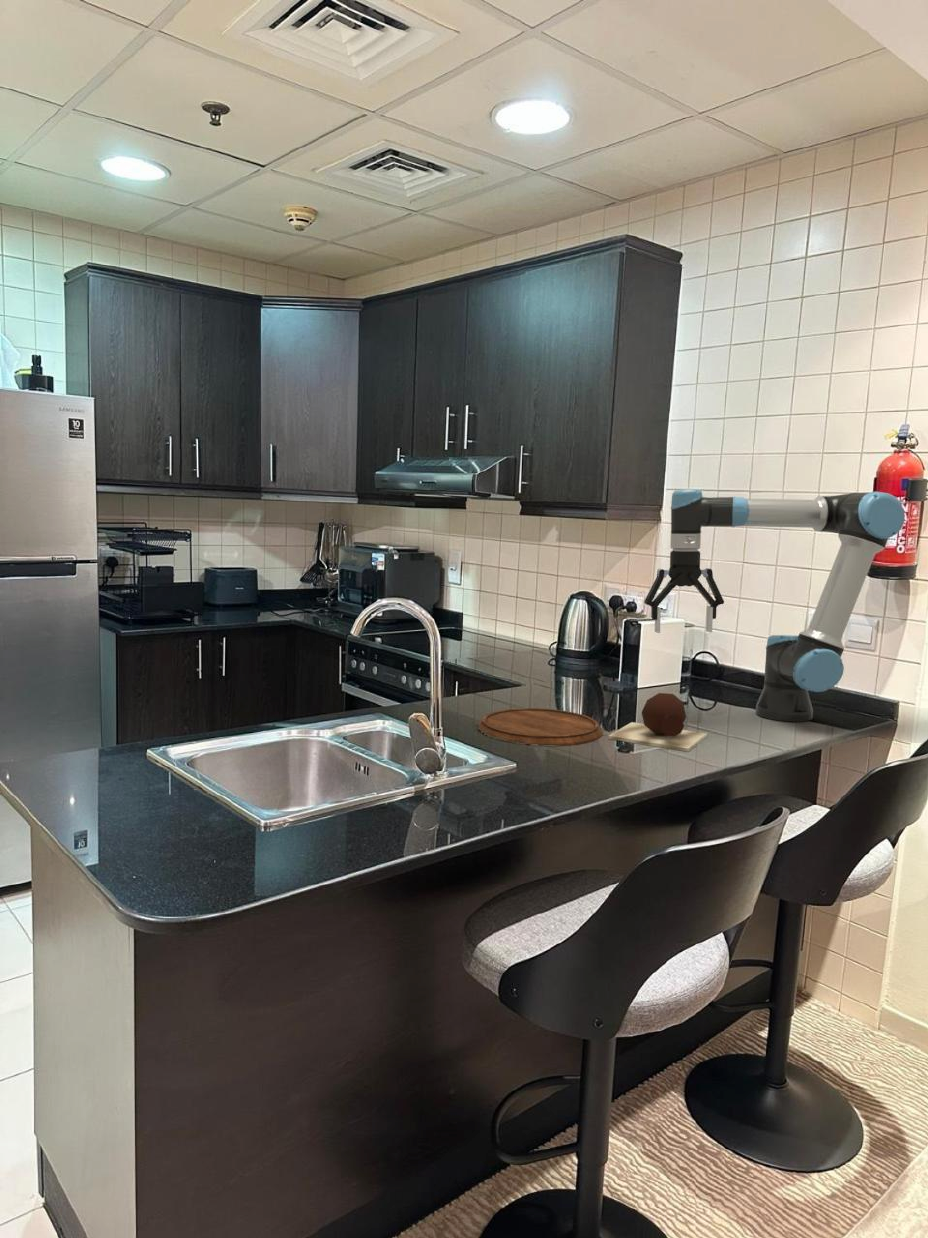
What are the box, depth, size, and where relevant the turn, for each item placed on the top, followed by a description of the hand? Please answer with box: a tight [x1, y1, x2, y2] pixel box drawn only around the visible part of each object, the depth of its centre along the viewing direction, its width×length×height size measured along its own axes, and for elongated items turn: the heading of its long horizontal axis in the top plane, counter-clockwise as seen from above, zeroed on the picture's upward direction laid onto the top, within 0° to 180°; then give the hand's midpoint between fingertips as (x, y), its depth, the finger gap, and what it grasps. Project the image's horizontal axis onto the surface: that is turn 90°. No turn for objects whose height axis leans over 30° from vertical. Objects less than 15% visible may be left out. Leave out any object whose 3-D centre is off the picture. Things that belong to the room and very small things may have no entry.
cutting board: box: [477, 707, 604, 747], centre depth 223 cm, size 32×32×2 cm
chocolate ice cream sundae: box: [641, 692, 687, 737], centre depth 215 cm, size 11×11×15 cm
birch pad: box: [607, 721, 708, 752], centre depth 217 cm, size 20×17×1 cm
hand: (683, 632), depth 226 cm, fingers open, 13 cm apart
